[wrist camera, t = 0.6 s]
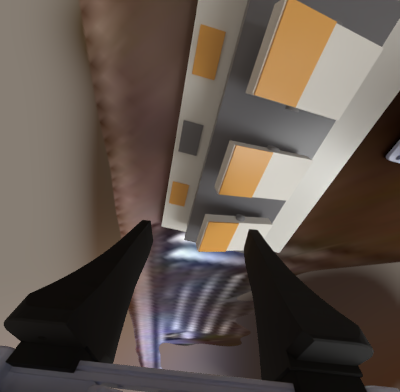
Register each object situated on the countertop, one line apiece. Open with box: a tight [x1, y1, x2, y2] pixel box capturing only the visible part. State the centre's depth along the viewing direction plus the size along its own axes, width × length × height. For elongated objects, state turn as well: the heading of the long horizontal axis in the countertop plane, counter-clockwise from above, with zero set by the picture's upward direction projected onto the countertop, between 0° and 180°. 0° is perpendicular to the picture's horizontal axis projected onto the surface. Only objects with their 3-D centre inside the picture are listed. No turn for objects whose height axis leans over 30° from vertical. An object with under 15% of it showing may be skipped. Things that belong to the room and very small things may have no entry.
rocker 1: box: [214, 140, 313, 201], centre depth 14 cm, size 7×4×1 cm, turn 77°
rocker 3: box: [245, 0, 384, 121], centre depth 10 cm, size 7×4×1 cm, turn 77°
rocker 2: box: [196, 214, 273, 252], centre depth 18 cm, size 7×4×1 cm, turn 77°
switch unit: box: [162, 0, 400, 253], centre depth 17 cm, size 18×26×4 cm
